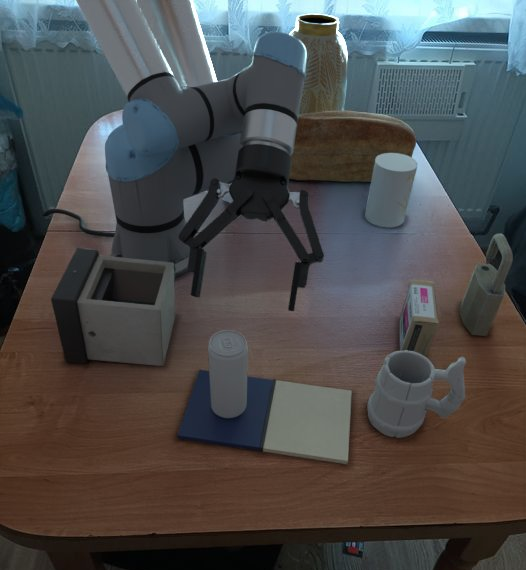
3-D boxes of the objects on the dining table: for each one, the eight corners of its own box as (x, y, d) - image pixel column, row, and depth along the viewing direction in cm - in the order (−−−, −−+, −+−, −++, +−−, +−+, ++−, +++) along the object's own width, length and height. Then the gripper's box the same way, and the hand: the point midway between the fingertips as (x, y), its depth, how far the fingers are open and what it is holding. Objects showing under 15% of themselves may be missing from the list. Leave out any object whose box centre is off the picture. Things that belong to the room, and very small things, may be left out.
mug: (363, 393, 77) (379, 331, 68) (447, 401, 76) (473, 339, 68) (366, 437, 71) (383, 374, 63) (456, 445, 71) (486, 383, 62)
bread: (411, 187, 123) (426, 128, 113) (276, 184, 122) (279, 123, 112) (401, 163, 131) (413, 106, 122) (274, 160, 130) (277, 102, 121)
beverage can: (214, 423, 71) (212, 359, 63) (207, 396, 74) (204, 332, 66) (250, 416, 72) (252, 352, 64) (241, 390, 75) (242, 326, 67)
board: (177, 438, 70) (177, 434, 69) (199, 373, 79) (199, 368, 78) (347, 464, 68) (348, 460, 67) (350, 394, 77) (351, 390, 76)
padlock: (480, 304, 93) (511, 228, 82) (491, 336, 87) (526, 258, 76) (456, 303, 93) (485, 226, 82) (466, 334, 87) (498, 256, 76)
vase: (268, 125, 146) (273, 9, 127) (329, 123, 148) (343, 9, 130) (281, 152, 133) (288, 29, 115) (347, 149, 136) (365, 28, 117)
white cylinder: (403, 229, 109) (417, 173, 101) (363, 224, 110) (374, 168, 102) (404, 210, 115) (417, 155, 107) (366, 205, 116) (376, 150, 108)
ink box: (398, 319, 89) (410, 277, 83) (422, 322, 89) (435, 281, 83) (399, 362, 82) (411, 320, 76) (424, 365, 81) (439, 323, 76)
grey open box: (163, 372, 79) (159, 308, 71) (65, 363, 79) (50, 298, 70) (175, 318, 88) (174, 256, 80) (87, 310, 88) (76, 247, 79)
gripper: (353, 172, 78) (330, 318, 78) (184, 152, 80) (163, 293, 80) (357, 152, 70) (333, 313, 70) (171, 130, 72) (148, 287, 72)
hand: (242, 303), depth 75 cm, fingers open, 13 cm apart
